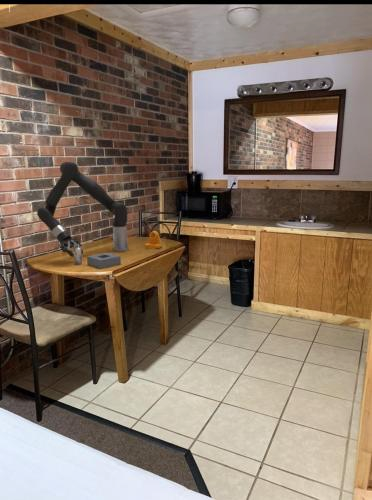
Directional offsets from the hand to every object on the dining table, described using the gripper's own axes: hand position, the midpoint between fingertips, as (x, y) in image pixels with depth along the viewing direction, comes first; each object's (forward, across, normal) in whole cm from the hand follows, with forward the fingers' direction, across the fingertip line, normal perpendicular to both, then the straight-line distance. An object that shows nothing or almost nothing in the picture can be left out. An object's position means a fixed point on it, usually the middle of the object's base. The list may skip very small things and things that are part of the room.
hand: (77, 254), depth 218 cm
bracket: (+18, +59, -9) cm, 62 cm away
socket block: (+15, +5, -6) cm, 17 cm away
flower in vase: (-11, +77, +20) cm, 80 cm away
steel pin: (+4, 0, +4) cm, 6 cm away
